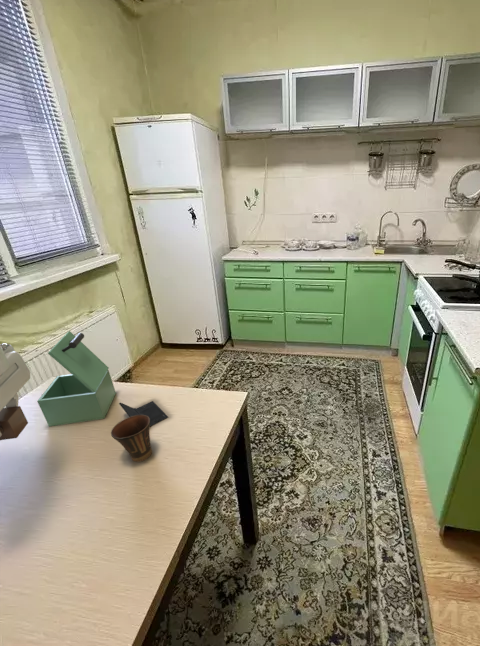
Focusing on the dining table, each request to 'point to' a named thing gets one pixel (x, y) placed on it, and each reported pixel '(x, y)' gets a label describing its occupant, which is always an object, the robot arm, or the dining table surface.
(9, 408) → the block
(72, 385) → the green open box
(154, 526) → the dining table surface
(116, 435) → the cup
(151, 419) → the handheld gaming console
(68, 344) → the lid
